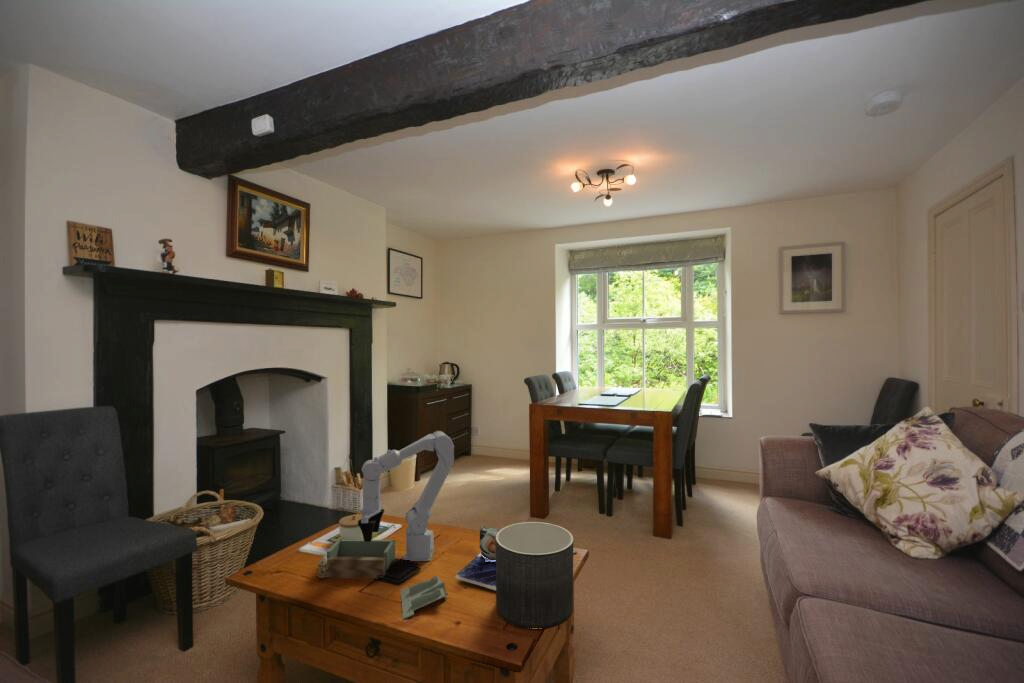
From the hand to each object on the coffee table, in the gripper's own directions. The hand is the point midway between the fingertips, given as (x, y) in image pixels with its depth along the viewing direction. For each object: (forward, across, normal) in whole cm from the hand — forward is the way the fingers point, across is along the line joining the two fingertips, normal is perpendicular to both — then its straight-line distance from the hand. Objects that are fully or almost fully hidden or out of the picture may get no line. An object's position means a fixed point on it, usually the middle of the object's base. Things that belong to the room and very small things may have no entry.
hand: (371, 536), depth 159 cm
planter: (+10, +24, +55) cm, 61 cm away
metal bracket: (+10, +22, +22) cm, 33 cm away
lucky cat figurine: (+10, -4, +43) cm, 44 cm away
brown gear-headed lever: (+10, +8, -4) cm, 13 cm away
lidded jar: (+10, -19, -13) cm, 25 cm away
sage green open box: (+9, +3, -3) cm, 10 cm away
